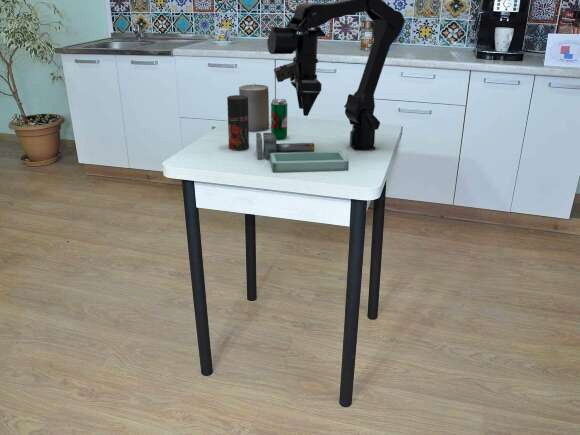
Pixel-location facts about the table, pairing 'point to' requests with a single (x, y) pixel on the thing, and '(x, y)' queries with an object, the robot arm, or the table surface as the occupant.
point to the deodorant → (238, 122)
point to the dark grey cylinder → (294, 147)
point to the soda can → (279, 118)
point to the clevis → (266, 145)
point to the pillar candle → (257, 106)
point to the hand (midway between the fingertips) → (303, 112)
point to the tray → (308, 161)
